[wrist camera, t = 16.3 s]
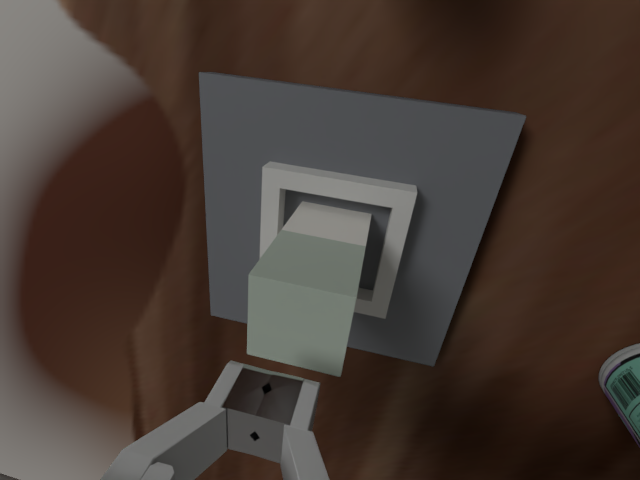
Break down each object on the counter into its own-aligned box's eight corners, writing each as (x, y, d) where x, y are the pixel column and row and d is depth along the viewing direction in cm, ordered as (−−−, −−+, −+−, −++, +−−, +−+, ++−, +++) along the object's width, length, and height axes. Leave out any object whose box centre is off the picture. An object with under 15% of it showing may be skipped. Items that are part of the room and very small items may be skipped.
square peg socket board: (212, 72, 19) (185, 72, 16) (516, 112, 17) (535, 119, 14) (220, 302, 26) (202, 325, 24) (431, 350, 24) (435, 380, 22)
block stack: (302, 201, 19) (248, 274, 12) (371, 213, 19) (356, 297, 12) (296, 260, 21) (247, 353, 14) (359, 273, 21) (340, 377, 14)
